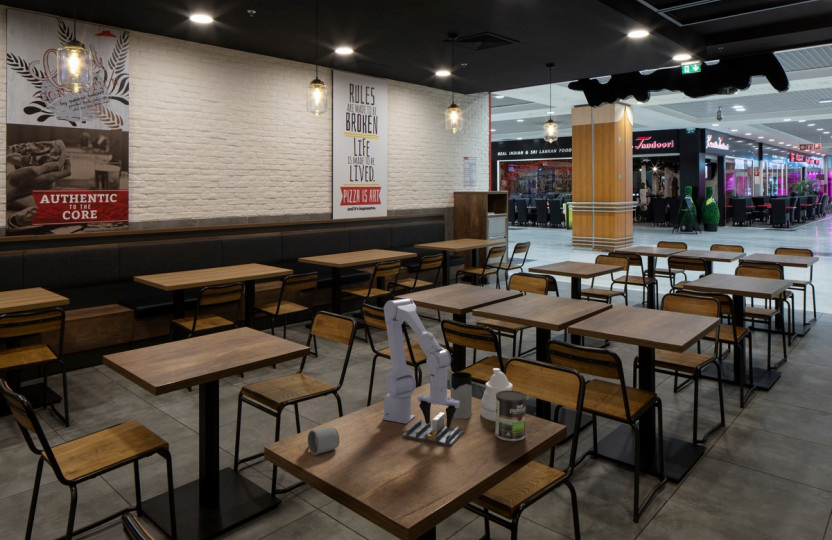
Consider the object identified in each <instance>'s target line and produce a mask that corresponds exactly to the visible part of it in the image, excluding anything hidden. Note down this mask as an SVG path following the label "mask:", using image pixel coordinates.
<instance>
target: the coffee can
mask: <svg viewBox="0 0 832 540" xmlns="http://www.w3.org/2000/svg"><path fill="white" fill-rule="evenodd" d="M526 411H527V394H525V393H523V392H522V391H517V390H512V391H510V390H507V391H500V392H497V393H496V421H495V432H494V435H495V437H497V438H498V439H499V440H503V441H507V442H518V441H522V440H524V439H525V438H526V418H527V417H526V414H527V412H526Z"/></svg>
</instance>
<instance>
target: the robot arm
mask: <svg viewBox="0 0 832 540" xmlns="http://www.w3.org/2000/svg"><path fill="white" fill-rule="evenodd" d="M383 313H384V314H383V315H384V321H385V324H386V325H385V326H386V332H387V333H386V334H387V339H388V347H389V348H388V349H389V355H390V363H391V370H390V371H389V372H388V374H387V375H386V385H385V389H386V391H387V394H385V396H384V399H383V417H382V419H383V420H384V421H389V422H396V423H401V424H405V425H406V424H408V423H409V422H410V421H411V420H413V419H414V418H415V417H416V415H415V414H412V405H411V404H412V395H413V394H414V392H415V390H416V386H417V382H416V379H415V378H414V374H413V371H412V370H411V369H410V368H408V367H407V360H406V352H405V343H404V336H403V328H402V325H403V324H404V322H406V323H407V325H408V326H409V328H411V330H413V332H414V333H415V335H416V337H417V343H418V345H419V347H420V348H421V350H422V352H424V354H425V356H426V365H427V366H428V372H429V373H428V374H429V376H430V377H429V380H430V381H429V382H430V383H429V385H430V386H429V394H418V395H417V402H418V403H419V405H418V406H419V408H420V410H421V412H422V414H423V418H424V423H426V424H428V423H429V422H430V421H431V407H432V405H436V406H437V405H438V406H439V405H441V406H445V407H446V408H445V415H446V425H447V428H449V427H450V428H451V427H452V421H453V418H454V417H453V416H454V413H455V411H456V409H457V408H459V407H460V401H457V400H454V399H451V397H448V367H449V366H450V365H451V363H452V357H451V353H450V351H449V350H448V349H446V348H444V347H442V346H441V345H440V343H439V342H438V341H437V338H436V337H435V336H434V334H433V333H432V332H428V331H427V330H426V328H425V326H424V324H423V322H422V320H421V319H420V316H419V315H418V313H417V305H416V304H415V302H414V300H413V299H412V298H410V297H407V298H401V299H395V300H394V299H393V300H387V301H386V303H385V304H384V306H383Z"/></svg>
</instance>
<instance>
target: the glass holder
mask: <svg viewBox="0 0 832 540" xmlns="http://www.w3.org/2000/svg"><path fill="white" fill-rule="evenodd" d="M472 376H473V375H472V374H471V373H469V372H466V371H456V372H454V371H452V372H449V385H450V386H449V387H450V398H451V399H454V400H457V401H460V407H459V408H457V409H456V411H455V413H454V416H453V418H456V419H467V418H470V417H472V416H473V412H472V407H473V406H472V403H473V402H472V400H473V398H472V397H473V396H472V395H473V390H472V389H473V386H472V379H473V378H472Z"/></svg>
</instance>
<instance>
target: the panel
mask: <svg viewBox="0 0 832 540" xmlns="http://www.w3.org/2000/svg"><path fill="white" fill-rule="evenodd" d="M445 415H446V412H440V411H439V413H438V414H437V415H435V416H434V417H433V418H432V419H431V425H432V435H433V436H435V437H436V435H437V434H438V433H439V432H440V431H441V430H442V429H443V428H444V427H445V419H446V418H445Z"/></svg>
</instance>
